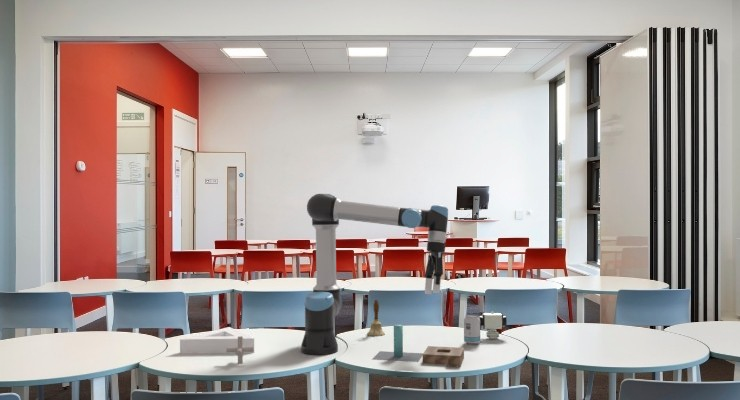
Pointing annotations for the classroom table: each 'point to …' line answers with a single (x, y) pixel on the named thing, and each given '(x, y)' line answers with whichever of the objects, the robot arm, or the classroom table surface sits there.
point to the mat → (406, 357)
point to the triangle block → (214, 342)
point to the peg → (398, 340)
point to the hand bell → (376, 323)
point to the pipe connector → (240, 349)
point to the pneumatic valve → (492, 323)
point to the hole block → (444, 356)
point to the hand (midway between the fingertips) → (431, 293)
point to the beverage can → (471, 329)
